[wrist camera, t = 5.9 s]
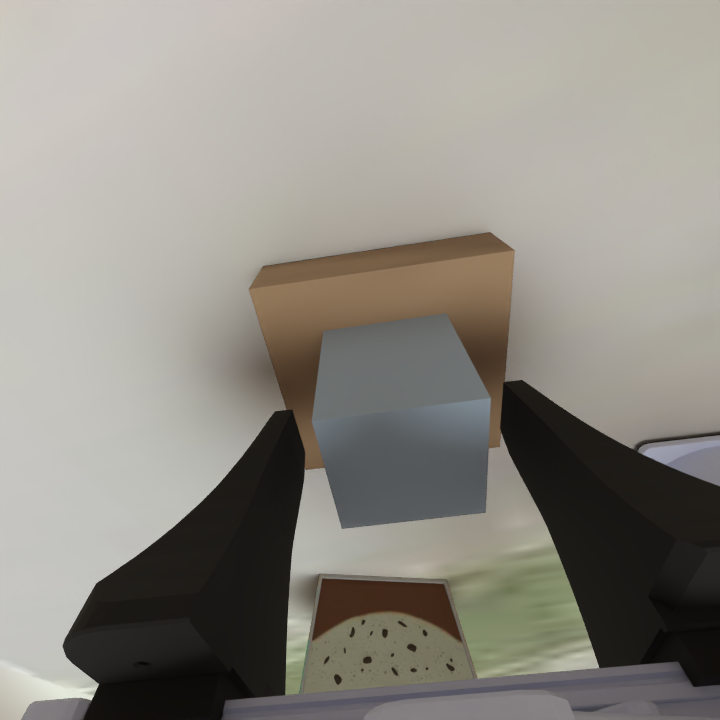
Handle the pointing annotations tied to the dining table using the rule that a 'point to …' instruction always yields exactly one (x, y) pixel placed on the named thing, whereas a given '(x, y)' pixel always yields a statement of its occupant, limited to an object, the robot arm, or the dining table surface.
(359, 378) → the block
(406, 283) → the base
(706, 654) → the robot arm
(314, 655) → the food container
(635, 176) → the dining table surface
